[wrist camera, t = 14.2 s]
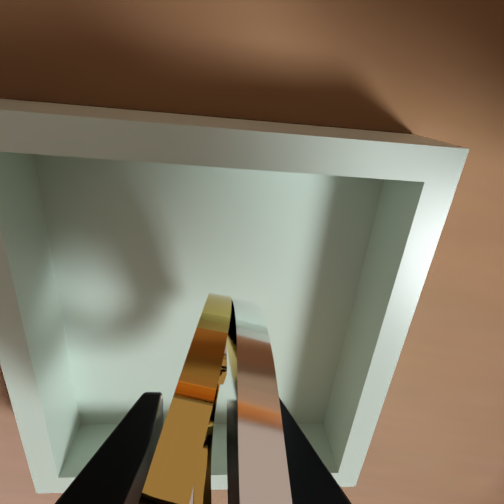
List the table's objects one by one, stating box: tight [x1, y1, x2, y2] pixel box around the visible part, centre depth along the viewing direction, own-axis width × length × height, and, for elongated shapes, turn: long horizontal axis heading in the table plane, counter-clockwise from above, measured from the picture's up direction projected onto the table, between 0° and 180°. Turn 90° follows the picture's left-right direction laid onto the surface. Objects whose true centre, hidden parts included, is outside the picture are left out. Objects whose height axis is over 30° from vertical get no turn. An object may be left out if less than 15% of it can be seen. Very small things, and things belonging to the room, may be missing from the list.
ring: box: [138, 293, 292, 504], centre depth 6 cm, size 7×3×8 cm, turn 166°
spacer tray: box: [0, 99, 469, 493], centre depth 11 cm, size 11×12×2 cm
